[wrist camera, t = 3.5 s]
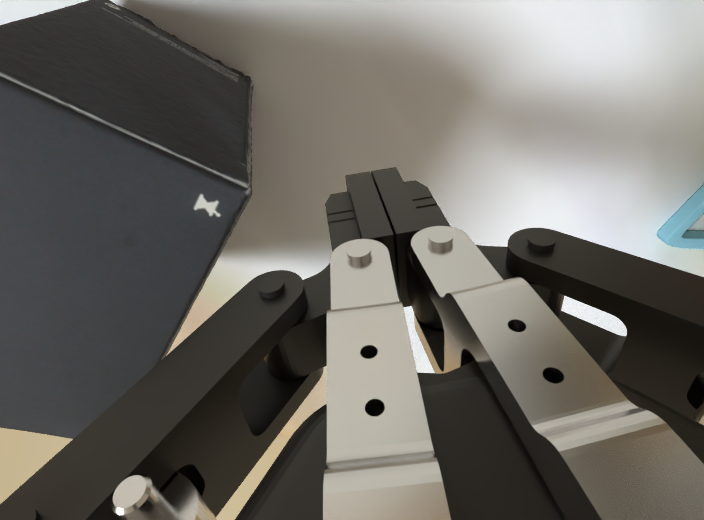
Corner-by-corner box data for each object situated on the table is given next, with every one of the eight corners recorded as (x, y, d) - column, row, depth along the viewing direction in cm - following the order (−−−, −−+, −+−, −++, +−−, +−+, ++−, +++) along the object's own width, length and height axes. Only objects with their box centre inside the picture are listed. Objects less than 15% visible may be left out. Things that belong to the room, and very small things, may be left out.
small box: (86, -18, 15) (-104, 16, 7) (257, 78, 18) (271, 186, 10) (22, 219, 19) (-145, 419, 11) (169, 266, 22) (125, 453, 14)
